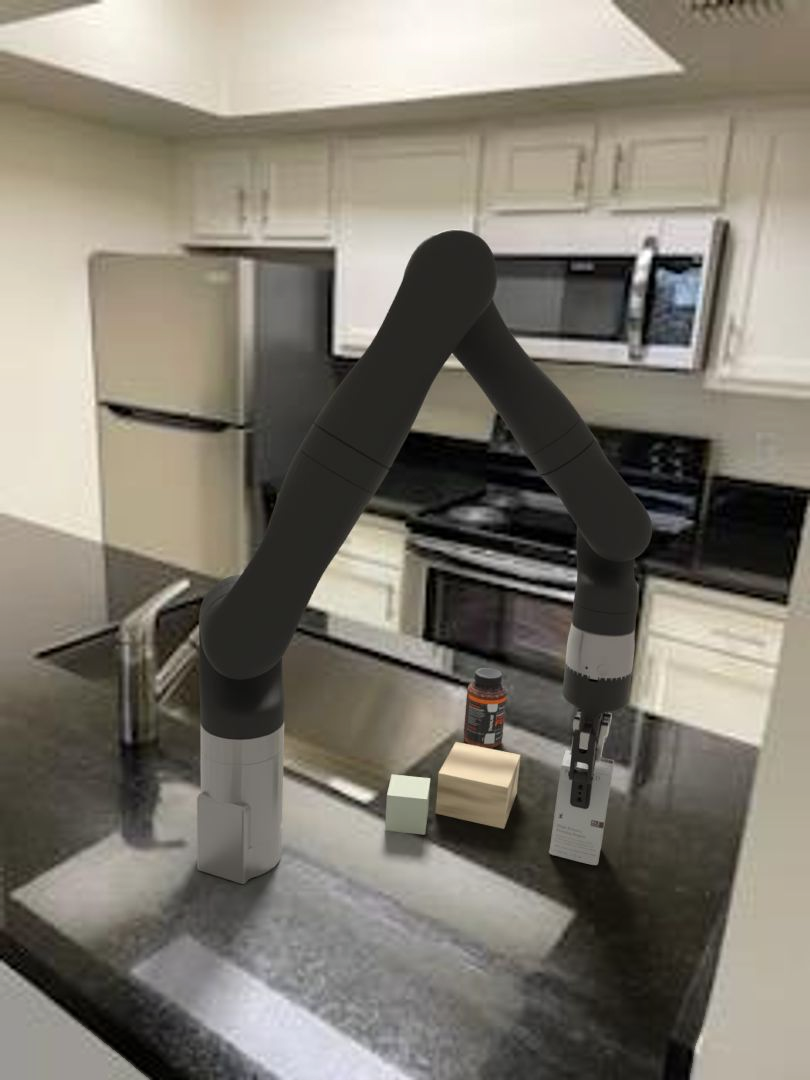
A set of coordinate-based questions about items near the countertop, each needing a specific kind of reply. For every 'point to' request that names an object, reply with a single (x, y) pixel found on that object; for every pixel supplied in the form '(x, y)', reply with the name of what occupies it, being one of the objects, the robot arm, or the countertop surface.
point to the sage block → (407, 804)
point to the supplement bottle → (485, 709)
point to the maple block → (478, 784)
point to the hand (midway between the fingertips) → (585, 788)
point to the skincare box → (581, 815)
